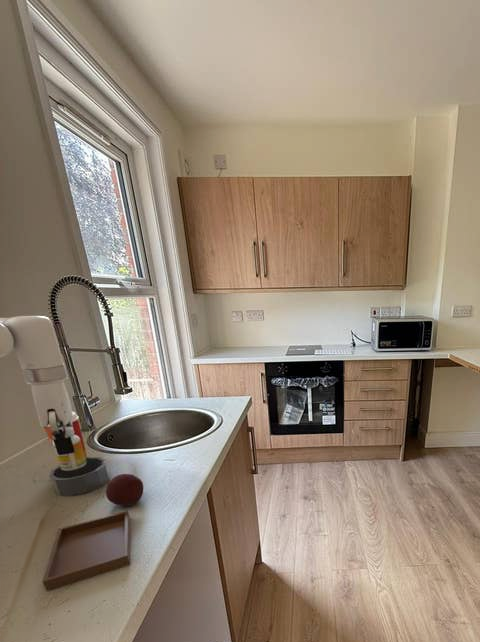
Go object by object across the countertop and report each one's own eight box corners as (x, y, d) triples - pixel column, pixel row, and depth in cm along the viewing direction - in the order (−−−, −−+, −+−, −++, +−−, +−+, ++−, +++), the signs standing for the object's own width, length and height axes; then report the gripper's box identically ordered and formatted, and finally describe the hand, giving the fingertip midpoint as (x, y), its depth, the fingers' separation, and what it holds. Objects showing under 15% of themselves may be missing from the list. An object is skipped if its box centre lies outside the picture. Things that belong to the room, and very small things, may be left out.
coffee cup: (60, 463, 99) (42, 413, 93) (94, 456, 102) (79, 408, 96) (55, 476, 92) (35, 423, 86) (91, 469, 95) (75, 417, 89)
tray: (46, 591, 57) (42, 581, 56) (61, 536, 69) (58, 528, 68) (130, 564, 62) (127, 555, 61) (130, 518, 74) (128, 510, 73)
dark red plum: (130, 489, 85) (123, 464, 82) (153, 498, 81) (146, 472, 78) (100, 505, 79) (92, 478, 76) (123, 515, 75) (115, 487, 72)
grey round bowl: (51, 500, 81) (45, 484, 79) (60, 478, 91) (54, 463, 89) (108, 487, 86) (103, 471, 84) (110, 468, 95) (106, 453, 94)
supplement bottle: (85, 459, 89) (75, 423, 86) (88, 466, 85) (78, 429, 82) (59, 465, 86) (47, 429, 82) (62, 473, 82) (49, 435, 79)
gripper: (33, 369, 83) (56, 439, 89) (13, 384, 68) (42, 466, 75) (71, 366, 86) (90, 434, 93) (59, 380, 72) (83, 459, 78)
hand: (68, 447), depth 84 cm, fingers closed on supplement bottle, 5 cm apart
